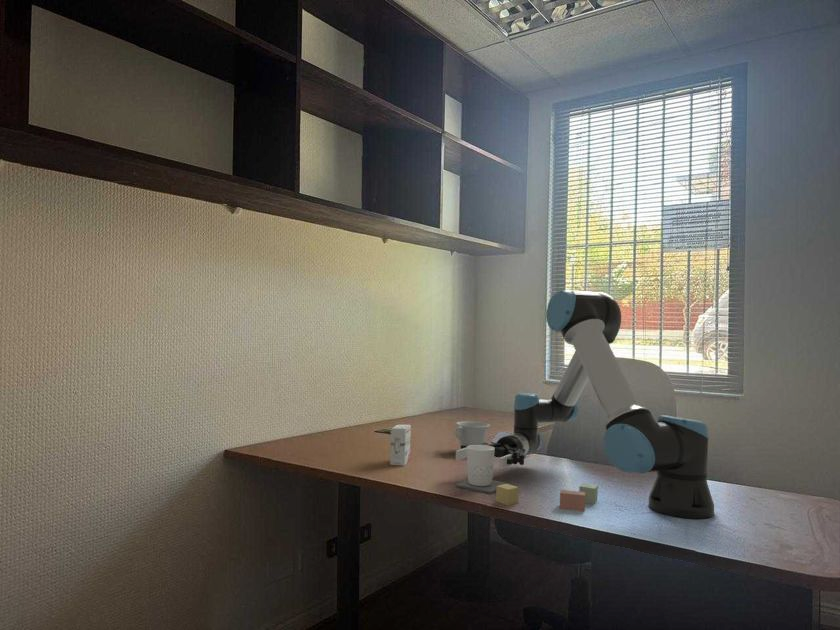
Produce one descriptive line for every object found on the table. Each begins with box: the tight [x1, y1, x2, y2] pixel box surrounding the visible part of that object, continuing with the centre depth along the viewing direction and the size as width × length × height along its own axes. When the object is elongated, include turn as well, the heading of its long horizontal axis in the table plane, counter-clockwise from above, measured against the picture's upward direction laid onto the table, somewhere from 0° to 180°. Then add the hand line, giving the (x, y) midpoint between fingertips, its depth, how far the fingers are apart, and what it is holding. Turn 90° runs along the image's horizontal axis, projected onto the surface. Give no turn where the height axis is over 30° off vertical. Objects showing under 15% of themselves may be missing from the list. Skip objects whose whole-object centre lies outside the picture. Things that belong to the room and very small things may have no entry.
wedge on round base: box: [491, 430, 512, 444], centre depth 211 cm, size 9×7×13 cm
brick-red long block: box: [559, 489, 586, 512], centre depth 148 cm, size 6×3×4 cm, turn 75°
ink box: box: [389, 424, 412, 467], centre depth 191 cm, size 9×5×12 cm, turn 168°
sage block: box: [578, 482, 599, 505], centre depth 155 cm, size 4×4×4 cm
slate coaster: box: [455, 479, 510, 495], centre depth 166 cm, size 11×11×1 cm
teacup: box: [454, 420, 491, 446], centre depth 210 cm, size 12×15×10 cm
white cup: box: [466, 445, 495, 486], centre depth 166 cm, size 8×8×10 cm
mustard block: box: [495, 483, 520, 506], centre depth 152 cm, size 4×4×4 cm
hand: (477, 459), depth 163 cm, fingers open, 13 cm apart
